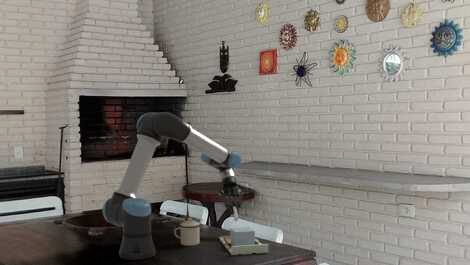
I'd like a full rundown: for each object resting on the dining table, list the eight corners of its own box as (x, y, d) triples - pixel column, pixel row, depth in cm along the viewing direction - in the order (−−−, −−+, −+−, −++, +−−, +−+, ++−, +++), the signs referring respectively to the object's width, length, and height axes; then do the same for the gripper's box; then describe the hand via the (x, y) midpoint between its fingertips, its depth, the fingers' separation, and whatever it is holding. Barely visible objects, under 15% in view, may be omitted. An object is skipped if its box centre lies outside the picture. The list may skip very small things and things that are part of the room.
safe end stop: (231, 254, 213) (231, 246, 213) (267, 251, 216) (267, 243, 216) (231, 255, 212) (231, 246, 212) (268, 252, 215) (268, 244, 215)
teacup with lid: (201, 241, 236) (201, 216, 236) (197, 246, 227) (197, 220, 227) (176, 240, 238) (176, 216, 237) (171, 245, 229) (171, 220, 228)
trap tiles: (224, 239, 239) (224, 238, 239) (247, 237, 242) (247, 237, 242) (227, 243, 232) (227, 242, 232) (251, 241, 234) (251, 241, 234)
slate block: (230, 244, 231) (230, 227, 231) (249, 242, 233) (249, 226, 233) (235, 249, 222) (235, 232, 222) (254, 247, 224) (254, 231, 224)
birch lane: (218, 238, 240) (218, 236, 240) (251, 236, 244) (251, 234, 244) (231, 254, 213) (231, 251, 213) (267, 251, 216) (267, 249, 216)
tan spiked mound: (170, 228, 267) (170, 203, 267) (177, 224, 277) (177, 200, 276) (196, 229, 263) (196, 204, 262) (203, 225, 272) (203, 201, 272)
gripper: (239, 184, 262) (248, 223, 247) (215, 185, 259) (222, 224, 244) (242, 175, 257) (250, 214, 241) (217, 176, 254) (224, 215, 238)
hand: (236, 219), depth 242 cm, fingers closed
